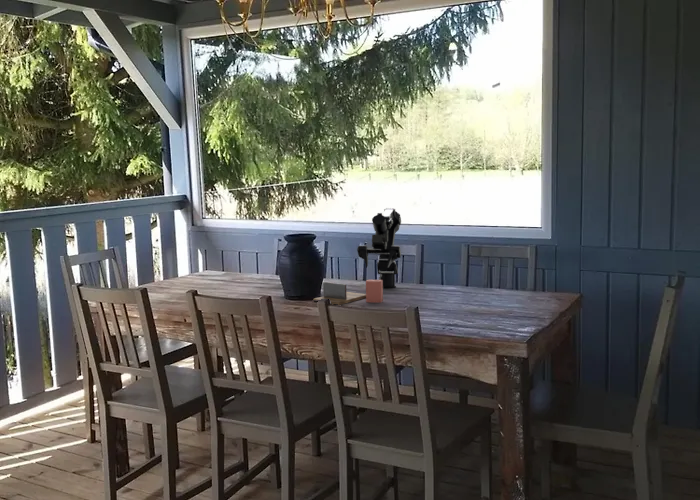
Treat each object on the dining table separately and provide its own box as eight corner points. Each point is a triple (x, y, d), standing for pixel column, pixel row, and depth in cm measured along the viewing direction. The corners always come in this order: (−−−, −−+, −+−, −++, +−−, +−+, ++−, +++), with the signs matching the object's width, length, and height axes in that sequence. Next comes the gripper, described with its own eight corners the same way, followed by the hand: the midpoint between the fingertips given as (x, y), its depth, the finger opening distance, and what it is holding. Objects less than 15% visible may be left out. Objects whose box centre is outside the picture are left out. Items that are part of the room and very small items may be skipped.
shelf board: (342, 293, 315) (342, 291, 315) (367, 297, 307) (367, 294, 307) (313, 301, 300) (313, 298, 300) (338, 305, 291) (338, 302, 291)
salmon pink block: (367, 300, 300) (367, 279, 299) (382, 300, 299) (382, 279, 298) (366, 302, 296) (365, 281, 295) (381, 302, 295) (381, 281, 294)
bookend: (325, 296, 304) (324, 281, 303) (346, 299, 297) (346, 284, 296) (323, 296, 303) (323, 282, 302) (345, 299, 296) (344, 284, 295)
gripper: (357, 227, 308) (352, 255, 299) (399, 227, 304) (396, 256, 295) (361, 243, 317) (357, 271, 308) (402, 243, 313) (399, 271, 303)
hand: (376, 267), depth 303 cm, fingers open, 9 cm apart
